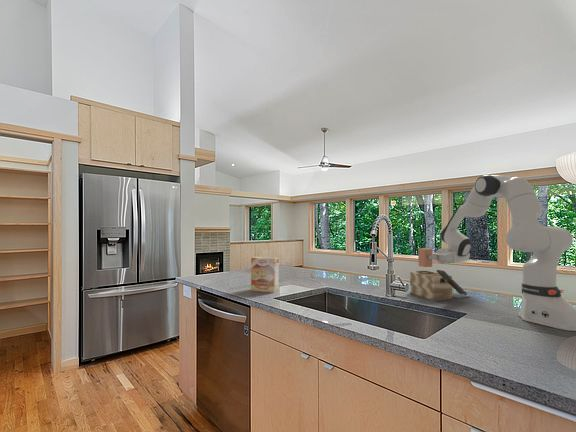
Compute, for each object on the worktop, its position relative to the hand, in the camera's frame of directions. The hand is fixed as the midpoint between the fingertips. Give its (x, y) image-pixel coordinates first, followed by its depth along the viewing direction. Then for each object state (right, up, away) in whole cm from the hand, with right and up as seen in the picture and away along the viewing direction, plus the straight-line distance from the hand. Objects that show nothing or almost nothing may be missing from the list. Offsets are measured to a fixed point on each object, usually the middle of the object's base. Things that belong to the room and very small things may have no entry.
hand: (423, 256), depth 176 cm
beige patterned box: (+2, -21, -4) cm, 22 cm away
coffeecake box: (-91, -21, +7) cm, 93 cm away
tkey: (+13, -17, -14) cm, 26 cm away
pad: (+16, -21, -5) cm, 27 cm away
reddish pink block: (+1, -6, 0) cm, 6 cm away
